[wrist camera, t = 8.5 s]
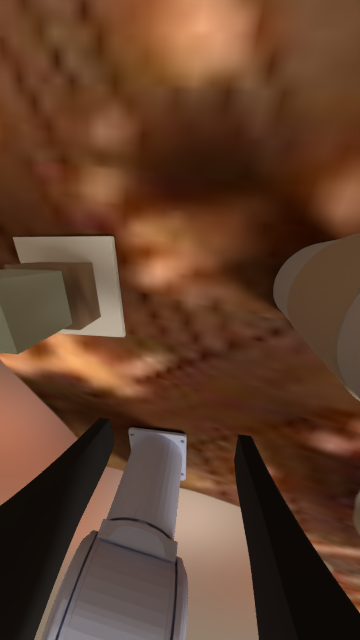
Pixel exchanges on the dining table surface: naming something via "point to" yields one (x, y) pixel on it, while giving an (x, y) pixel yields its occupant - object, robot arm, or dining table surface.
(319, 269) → the coffee cup
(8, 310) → the sage block
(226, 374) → the dining table surface
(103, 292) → the stone tile
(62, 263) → the walnut block
